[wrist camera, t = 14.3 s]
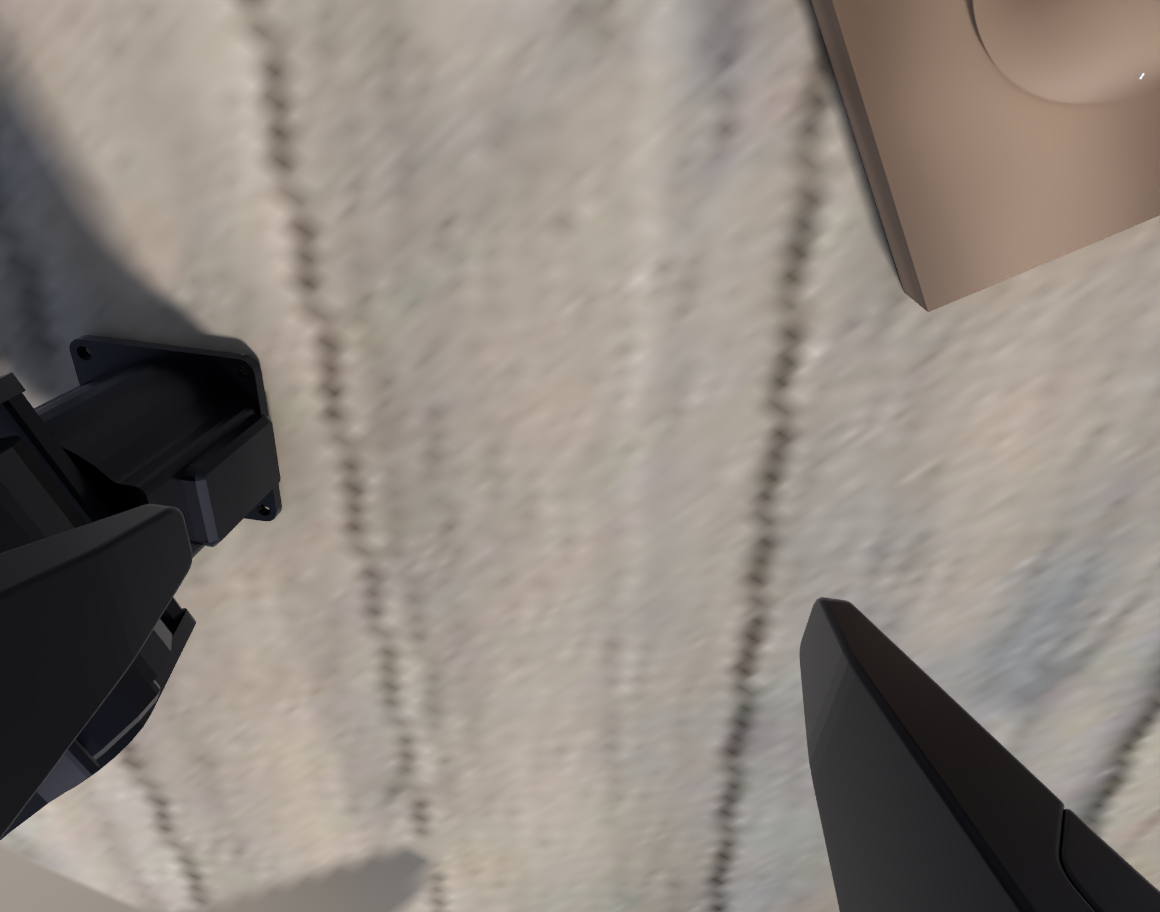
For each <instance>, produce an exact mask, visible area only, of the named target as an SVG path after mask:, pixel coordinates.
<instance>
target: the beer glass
mask: <svg viewBox="0 0 1160 912" xmlns="http://www.w3.org/2000/svg"><path fill="white" fill-rule="evenodd" d="M971 1H972V9H973V15H974V20H975V24H976V27H977V31H978V34H979V36H980V39H981V41H982V44H983V46H984V48H985V50H986V52H987V53H988V55H989V57H990V58H991V60H992V61H993V63H994V64H995V65H996V67H997V68H998V69H999V70H1000V71H1001V72H1002V73H1003V74H1004V75H1005V76H1006V77H1007V78H1008V79H1009V80H1010V81H1012V82H1013V83H1014V84H1015V85H1017V86H1018V87H1020V88H1021V89H1023V90H1025V91H1026V92H1028V93H1030V94H1032V95H1034V96H1037V97H1039V98H1042V99H1045V100H1048V101H1052V102H1057V103H1063V104H1073V105H1089V104H1100V103H1108V102H1114V101H1119V100H1124V99H1128V98H1132V97H1135V96H1139V95H1143V94H1146V93H1149V92H1152V91H1156V90H1159V89H1160V0H971Z"/></svg>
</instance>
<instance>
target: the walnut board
mask: <svg viewBox="0 0 1160 912" xmlns="http://www.w3.org/2000/svg"><path fill="white" fill-rule="evenodd" d="M811 2H812V5H813V8H814V11H815V14H816V18H817V21H818V24H819V27H820V30H821V33H822V36H823V39H824V43H825V46H826V49H827V52H828V55H829V58H830V61H831V64H832V68H833V71H834V74H835V77H836V80H837V83H838V86H839V90H840V93H841V96H842V99H843V102H844V105H845V108H846V111H847V115H848V118H849V121H850V124H851V127H852V130H853V133H854V136H855V140H856V143H857V146H858V149H859V152H860V155H861V158H862V161H863V165H864V168H865V171H866V174H867V177H868V180H869V183H870V186H871V190H872V193H873V196H874V199H875V202H876V205H877V208H878V211H879V215H880V218H881V221H882V224H883V227H884V230H885V233H886V237H887V240H888V243H889V246H890V249H891V252H892V255H893V258H894V262H895V265H896V268H897V271H898V274H899V277H900V280H901V283H902V287H903V290H904V293H906V294H907V295H908V296H909V297H911V298H912V299H913V300H914V301H915V302H917V303H918V304H919V305H920V306H922V307H923V308H924V309H925V310H926V311H928V312H929V311H932V310H934V309H937V308H939V307H941V306H944V305H946V304H949V303H951V302H953V301H956V300H958V299H960V298H963V297H965V296H968V295H970V294H972V293H975V292H977V291H980V290H982V289H984V288H987V287H989V286H992V285H994V284H996V283H999V282H1001V281H1004V280H1006V279H1008V278H1011V277H1013V276H1015V275H1018V274H1020V273H1023V272H1025V271H1027V270H1030V269H1032V268H1035V267H1037V266H1039V265H1042V264H1044V263H1047V262H1049V261H1051V260H1054V259H1056V258H1059V257H1061V256H1063V255H1066V254H1068V253H1071V252H1073V251H1075V250H1078V249H1080V248H1082V247H1085V246H1087V245H1090V244H1092V243H1094V242H1097V241H1099V240H1102V239H1104V238H1106V237H1109V236H1111V235H1114V234H1116V233H1118V232H1121V231H1123V230H1126V229H1128V228H1130V227H1133V226H1135V225H1137V224H1140V223H1142V222H1145V221H1147V220H1149V219H1152V218H1154V217H1157V216H1159V215H1160V89H1159V90H1156V91H1152V92H1149V93H1146V94H1143V95H1139V96H1135V97H1132V98H1128V99H1124V100H1119V101H1114V102H1108V103H1100V104H1089V105H1073V104H1063V103H1057V102H1052V101H1048V100H1045V99H1042V98H1039V97H1037V96H1034V95H1032V94H1030V93H1028V92H1026V91H1025V90H1023V89H1021V88H1020V87H1018V86H1017V85H1015V84H1014V83H1013V82H1012V81H1010V80H1009V79H1008V78H1007V77H1006V76H1005V75H1004V74H1003V73H1002V72H1001V71H1000V70H999V69H998V68H997V67H996V65H995V64H994V63H993V61H992V60H991V58H990V57H989V55H988V53H987V52H986V50H985V48H984V46H983V44H982V41H981V39H980V36H979V34H978V31H977V27H976V24H975V20H974V15H973V9H972V1H971V0H811Z"/></svg>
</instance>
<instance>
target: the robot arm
mask: <svg viewBox="0 0 1160 912" xmlns="http://www.w3.org/2000/svg"><path fill="white" fill-rule="evenodd" d="M86 348H87V349H88V350H90V352H91V354H92V355H90V354H89V353H88V352H87V350H86ZM70 352H71V356H72V359H73V363H74V366H75V369H76V373H77V376H78V380H79V383H80V386H78V387H76V388H74V389H72V390H70V391H68V392H66V393H64V394H62V395H60V396H58V397H56V398H54V399H52V400H50V401H48V402H46V403H44V404H42V405H40V406H38V407H36V408H33V407H32V406H31V404H30V403H29V402H28V400H27V399H26V397H25V396H24V395H23V393H22V392H24V391H25V389H24V388H23V386H22V385H21V384H20V382H19V381H18V380H17V378H16V377H15V375H14V374H13V373H12V372H11V373H8V374H5V375H3V376H0V840H1V839H2V838H4V837H5V836H6V835H7V834H8V833H10V832H11V831H12V830H14V829H15V828H16V827H17V826H19V825H20V824H21V823H23V822H24V821H25V820H27V819H28V818H29V817H31V816H32V815H33V814H35V813H36V812H37V811H38V810H40V809H41V808H42V807H44V806H45V805H46V804H48V803H49V802H51V801H52V800H54V799H55V798H57V797H59V796H60V795H62V794H63V793H65V792H67V791H68V790H70V789H72V788H74V787H75V786H77V785H79V784H80V783H82V782H83V781H84V780H86V779H87V778H89V777H90V776H92V775H93V774H95V773H96V772H97V771H99V770H100V769H101V768H102V767H103V766H105V765H106V764H107V763H108V762H110V761H111V760H112V759H113V758H114V757H116V756H117V755H118V754H119V753H120V752H121V751H122V750H123V749H124V748H125V747H126V746H127V745H128V744H129V743H130V742H131V741H132V740H133V738H134V737H135V736H136V735H137V734H138V732H139V731H140V730H141V729H142V727H143V726H144V725H145V723H146V721H147V720H148V718H149V716H150V715H151V713H152V711H153V709H154V707H155V705H156V703H157V701H158V699H159V697H160V695H161V693H162V691H163V689H164V687H165V685H166V683H167V681H168V679H169V677H170V675H171V673H172V671H173V669H174V667H175V665H176V663H177V661H178V659H179V657H180V655H181V653H182V651H183V648H184V646H185V644H186V642H187V640H188V638H189V636H190V634H191V632H192V630H193V628H194V626H195V624H196V621H195V620H194V618H193V617H192V616H191V614H190V613H189V611H188V610H187V609H186V608H183V609H182V608H181V607H180V605H179V604H178V603H177V601H176V600H175V599H174V597H173V596H174V594H175V593H176V591H177V590H178V588H179V586H180V585H181V583H182V581H183V580H184V578H185V576H186V575H187V573H188V571H189V569H190V566H191V563H192V558H193V557H194V556H195V555H196V554H197V553H198V552H199V551H200V550H201V549H202V548H203V547H204V546H210V547H214V546H216V545H217V544H218V543H219V542H220V541H221V540H222V539H223V538H224V537H225V536H226V535H227V534H228V533H229V532H230V531H231V530H232V529H233V528H234V527H235V526H236V525H237V524H238V523H239V522H240V521H241V520H242V519H243V518H246V519H254V520H261V521H271V520H273V519H275V517H276V516H277V515H278V514H279V513H280V512H281V510H282V504H281V498H280V491H279V484H278V483H279V482H280V473H279V466H278V459H277V453H276V446H275V439H274V433H273V426H272V422H271V420H270V419H269V417H268V412H267V405H266V399H265V392H264V386H263V379H262V372H261V369H260V366H259V364H258V363H257V361H256V360H255V359H253V358H252V357H250V356H247V355H242V354H234V353H226V352H218V351H210V350H202V349H194V348H186V347H178V346H170V345H162V344H154V343H146V342H138V341H130V340H122V339H114V338H106V337H98V336H90V335H89V336H83V337H80V338H78V339H75V340H74V341H72V342H71V344H70ZM240 366H241V367H244V368H245V369H246V370H247V373H248V376H247V375H244V374H243V373H242V372H241V370H240ZM263 505H266V506H267V507H268V508H269V509H270V510H268V509H266V508H265V507H264V506H263ZM800 668H801V679H802V691H803V702H804V713H805V724H806V735H807V746H808V755H809V764H810V769H811V775H812V780H813V785H814V790H815V795H816V800H817V804H818V809H819V814H820V819H821V824H822V828H823V833H824V838H825V843H826V848H827V852H828V857H829V862H830V867H831V871H832V876H833V881H834V886H835V891H836V895H837V900H838V905H839V910H840V912H1160V891H1159V890H1158V889H1156V888H1155V887H1154V886H1153V885H1152V884H1151V883H1149V882H1148V881H1147V880H1146V879H1145V878H1144V877H1143V876H1142V875H1141V874H1140V873H1139V872H1137V871H1136V870H1135V869H1134V868H1133V867H1132V866H1131V865H1130V864H1129V863H1128V862H1126V861H1125V860H1124V859H1123V858H1122V857H1121V856H1120V855H1119V854H1118V853H1117V852H1116V851H1114V850H1113V849H1112V848H1111V847H1110V846H1109V845H1108V844H1107V843H1106V842H1105V841H1103V840H1102V839H1101V838H1100V837H1099V836H1098V835H1097V834H1096V833H1095V832H1094V831H1093V830H1092V829H1091V828H1090V827H1089V826H1087V825H1086V824H1085V823H1084V822H1083V821H1082V820H1081V819H1080V818H1079V817H1078V816H1077V815H1076V814H1075V813H1074V812H1073V811H1071V810H1070V809H1064V804H1063V802H1062V801H1061V800H1060V799H1059V798H1057V797H1056V796H1055V795H1054V794H1053V793H1052V792H1051V791H1050V790H1049V789H1048V788H1047V787H1046V786H1045V785H1044V784H1043V783H1042V782H1040V781H1039V780H1038V779H1037V778H1036V777H1035V776H1034V775H1033V774H1032V773H1031V772H1030V771H1029V770H1028V769H1027V768H1026V767H1025V766H1024V765H1022V764H1021V763H1020V762H1019V761H1018V760H1017V759H1016V758H1015V757H1014V756H1013V755H1012V754H1011V753H1010V752H1009V751H1008V750H1007V749H1006V748H1004V747H1003V746H1002V745H1001V744H1000V743H999V742H998V741H997V740H996V739H995V738H994V737H993V736H992V735H991V734H990V733H989V732H987V731H986V730H985V729H984V728H983V727H982V726H981V725H980V724H979V723H978V722H977V721H976V720H975V719H974V718H973V717H972V716H971V715H969V714H968V713H967V712H966V711H965V710H964V709H963V708H962V707H961V706H960V705H959V704H958V703H957V702H956V701H955V700H954V699H952V698H951V697H950V696H949V695H948V694H947V693H946V692H945V691H944V690H943V689H942V688H941V687H940V686H939V685H938V684H937V683H936V682H934V681H933V680H932V679H931V678H930V677H929V676H928V675H927V674H926V673H925V672H924V671H923V670H922V669H921V668H920V667H919V666H918V665H916V664H915V663H914V662H913V661H912V660H911V659H910V658H909V657H908V656H907V655H906V654H905V653H904V652H903V651H902V650H901V649H899V648H898V647H897V646H896V645H895V644H894V643H893V642H892V641H891V640H890V639H889V638H888V637H887V636H886V635H885V634H884V633H883V632H881V631H880V630H879V629H878V628H877V627H876V626H875V625H874V624H873V623H872V622H871V621H870V620H869V619H868V618H867V617H866V616H864V615H863V614H862V613H861V612H860V611H859V610H858V609H857V608H856V607H855V606H854V605H853V604H851V603H850V602H848V601H845V600H839V599H832V598H824V597H821V598H819V599H817V600H816V602H815V603H814V605H813V608H812V611H811V614H810V617H809V620H808V623H807V626H806V629H805V632H804V635H803V638H802V641H801V645H800Z"/></svg>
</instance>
